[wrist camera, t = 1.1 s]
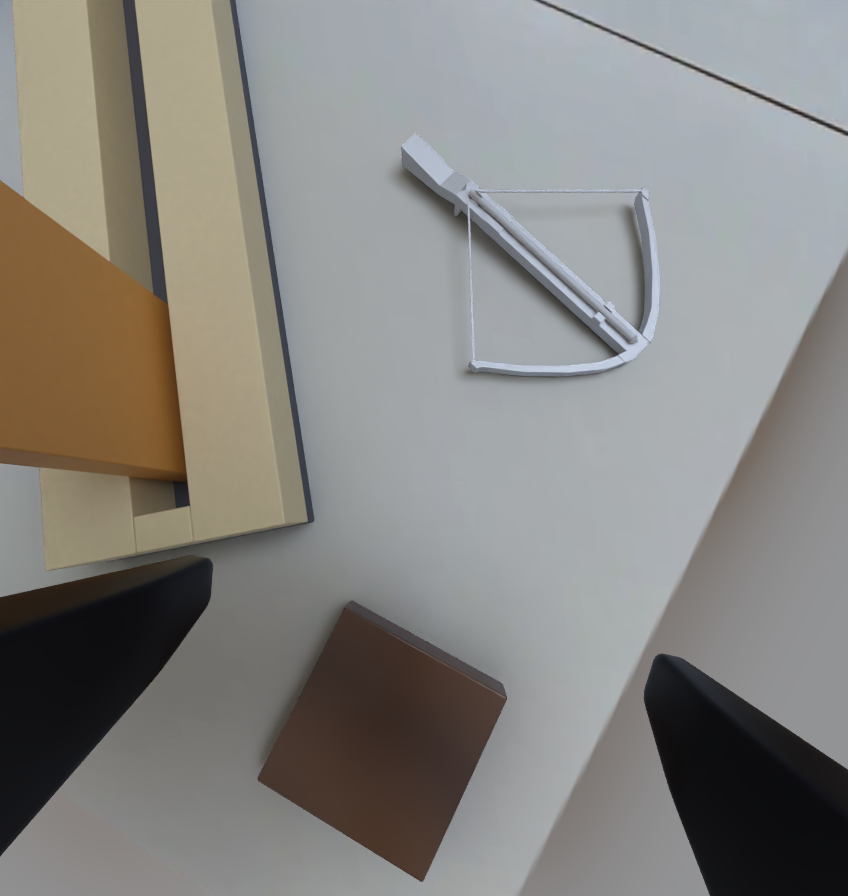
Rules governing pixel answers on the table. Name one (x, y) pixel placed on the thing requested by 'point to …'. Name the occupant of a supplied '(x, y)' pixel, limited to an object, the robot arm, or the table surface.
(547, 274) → the crossbow
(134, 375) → the toast
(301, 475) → the toaster
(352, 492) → the table surface
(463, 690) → the bread board
